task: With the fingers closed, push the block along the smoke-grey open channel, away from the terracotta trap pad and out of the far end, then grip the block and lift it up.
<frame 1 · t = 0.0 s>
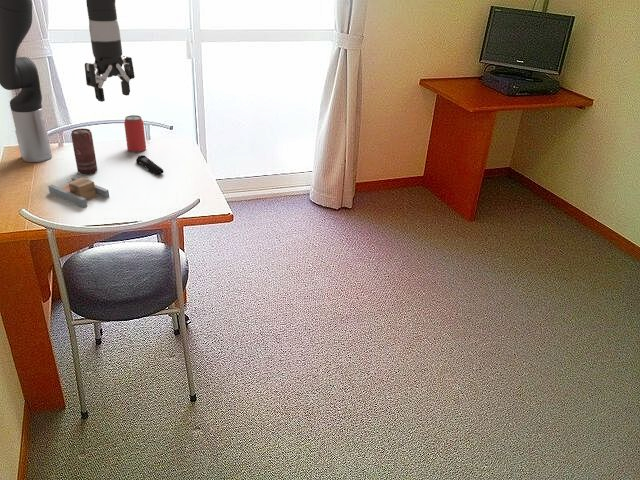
hand: (113, 97, 153), 29 cm above the table, tool pointing down, fingers open, 8 cm apart
channel: (79, 195, 164), on the table
block: (83, 197, 163), on the table
can: (88, 172, 179), on the table
electric trimmer: (150, 169, 185), on the table
beer can: (137, 149, 199), on the table
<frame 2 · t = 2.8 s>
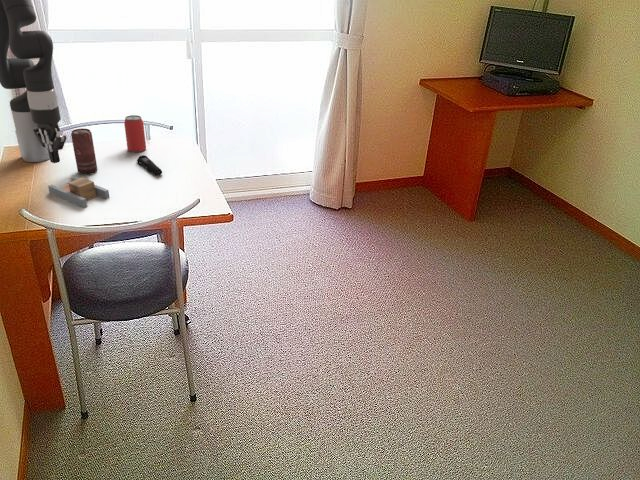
hand: (55, 162, 163), 9 cm above the table, tool pointing down, fingers closed
nothing on the table moved.
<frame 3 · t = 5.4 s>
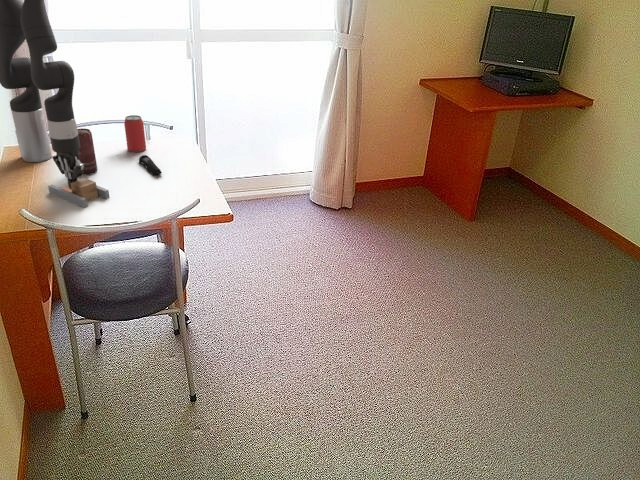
hand: (74, 188, 164), 2 cm above the table, tool pointing down, fingers closed
block: (85, 197, 163), on the table, touching gripper
everything else where it was.
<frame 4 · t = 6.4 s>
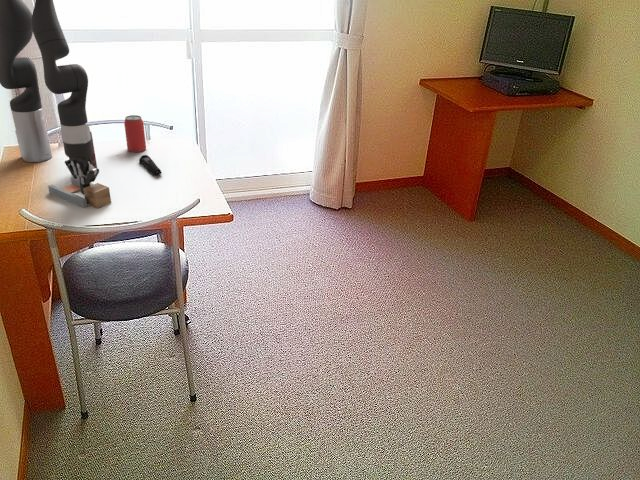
hand: (86, 193, 161), 2 cm above the table, tool pointing down, fingers closed
block: (98, 203, 160), on the table, touching gripper
everything else where it was.
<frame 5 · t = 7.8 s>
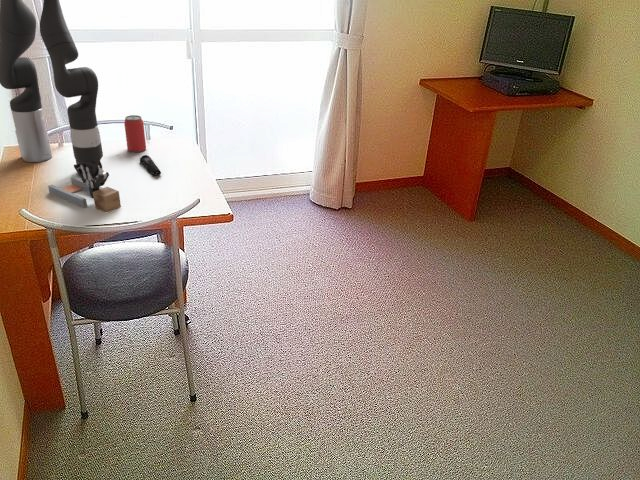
hand: (95, 197, 160), 2 cm above the table, tool pointing down, fingers closed
block: (108, 207, 158), on the table, touching gripper
everything else where it was.
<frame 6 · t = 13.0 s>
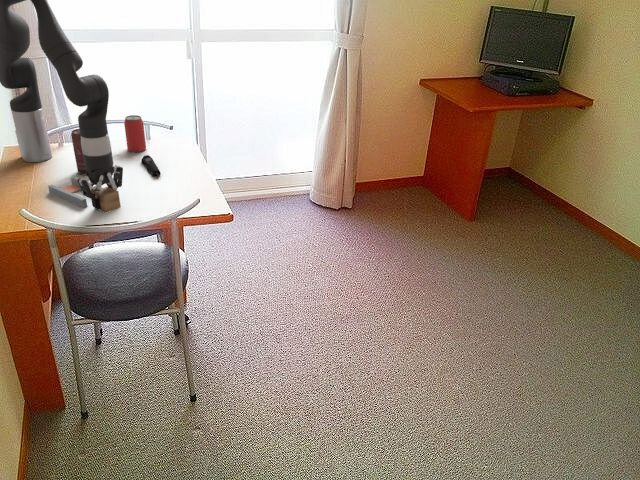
hand: (105, 204, 158), 0 cm above the table, tool pointing down, fingers closed on block, 5 cm apart
block: (107, 207, 158), on the table, touching gripper
everything else where it was.
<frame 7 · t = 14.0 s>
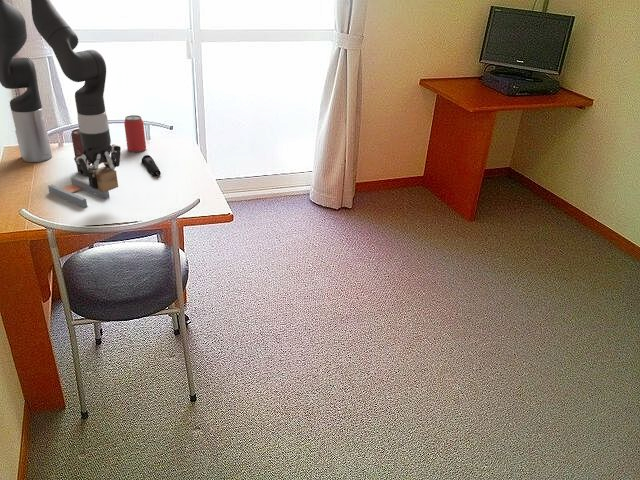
hand: (103, 184, 156), 7 cm above the table, tool pointing down, fingers closed on block, 5 cm apart
block: (105, 187, 155), point 6 cm above the table, touching gripper
everything else where it was.
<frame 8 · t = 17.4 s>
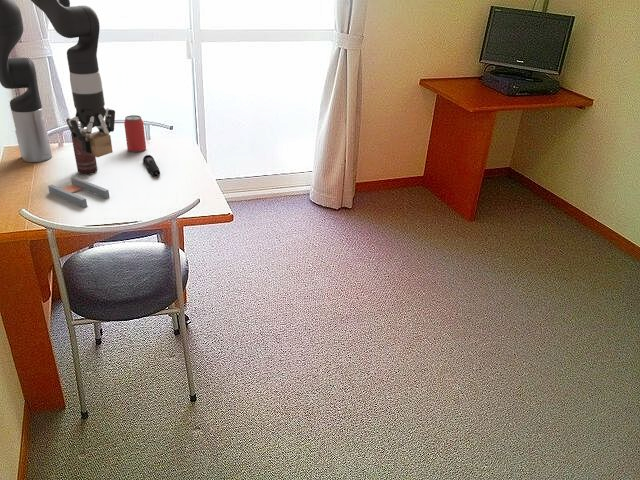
hand: (96, 150, 150), 17 cm above the table, tool pointing down, fingers closed on block, 5 cm apart
block: (99, 152, 150), point 17 cm above the table, touching gripper
at the end: the gripper is holding block; block point 16.8 cm above the table; block inside the target area (0.6 cm from its centre), point 16.8 cm above the table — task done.
